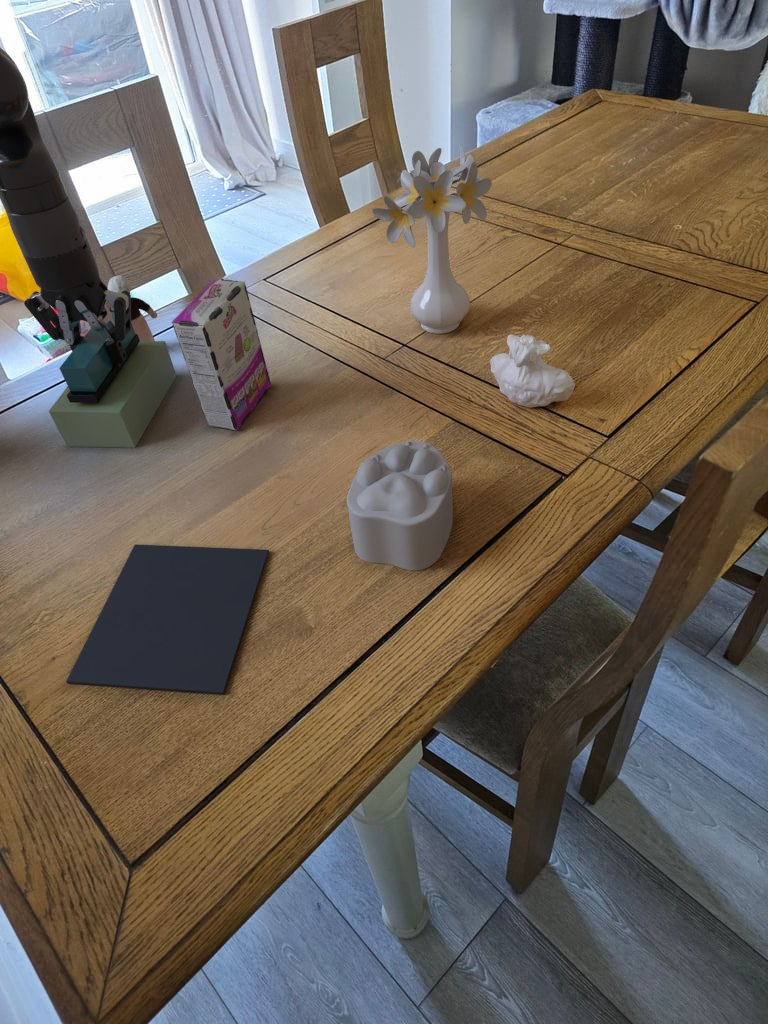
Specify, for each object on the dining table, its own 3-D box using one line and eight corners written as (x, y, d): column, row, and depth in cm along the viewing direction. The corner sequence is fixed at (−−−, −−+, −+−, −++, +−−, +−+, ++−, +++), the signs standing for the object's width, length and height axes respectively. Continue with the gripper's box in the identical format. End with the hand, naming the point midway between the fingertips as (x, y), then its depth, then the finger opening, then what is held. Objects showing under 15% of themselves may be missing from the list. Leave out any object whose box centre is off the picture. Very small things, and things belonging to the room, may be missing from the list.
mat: (67, 683, 68) (65, 681, 67) (135, 546, 80) (134, 544, 80) (224, 694, 65) (222, 692, 65) (269, 551, 78) (268, 549, 78)
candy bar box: (242, 381, 103) (213, 277, 91) (272, 385, 101) (247, 280, 90) (204, 427, 95) (169, 320, 84) (237, 432, 94) (205, 324, 82)
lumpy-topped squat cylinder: (344, 557, 76) (333, 500, 70) (381, 479, 85) (375, 423, 79) (435, 575, 74) (432, 518, 67) (464, 493, 82) (464, 435, 76)
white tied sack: (487, 400, 98) (462, 371, 88) (509, 351, 98) (486, 316, 88) (566, 426, 93) (548, 398, 83) (589, 374, 93) (575, 340, 83)
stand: (66, 446, 95) (48, 411, 91) (115, 375, 107) (101, 341, 102) (135, 447, 93) (119, 412, 89) (177, 375, 105) (165, 340, 101)
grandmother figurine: (159, 338, 114) (133, 264, 105) (170, 347, 111) (144, 272, 102) (115, 357, 110) (85, 282, 101) (126, 366, 108) (95, 291, 99)
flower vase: (374, 347, 106) (356, 176, 89) (431, 292, 117) (426, 130, 99) (450, 366, 101) (447, 189, 83) (503, 307, 112) (510, 139, 94)
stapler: (98, 403, 90) (84, 371, 87) (69, 402, 90) (54, 371, 87) (140, 341, 100) (129, 310, 97) (114, 341, 101) (102, 311, 98)
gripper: (-18, 256, 81) (43, 379, 93) (95, 254, 79) (143, 380, 91) (13, 229, 86) (68, 349, 98) (121, 226, 84) (163, 349, 96)
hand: (104, 363), depth 95 cm, fingers closed on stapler, 4 cm apart
